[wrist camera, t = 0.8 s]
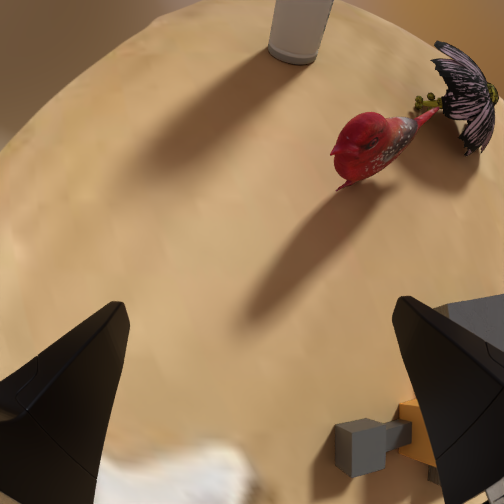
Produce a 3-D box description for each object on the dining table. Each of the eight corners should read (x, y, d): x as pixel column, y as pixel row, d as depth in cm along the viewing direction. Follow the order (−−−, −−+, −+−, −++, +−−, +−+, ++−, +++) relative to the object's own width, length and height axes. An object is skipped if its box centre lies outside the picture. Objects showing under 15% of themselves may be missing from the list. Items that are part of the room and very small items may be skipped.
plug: (439, 437, 18) (482, 445, 13) (335, 470, 17) (367, 497, 12) (439, 390, 19) (485, 391, 14) (334, 418, 18) (370, 433, 13)
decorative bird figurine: (287, 202, 24) (323, 111, 14) (403, 133, 29) (446, 71, 19) (310, 230, 23) (362, 148, 14) (421, 152, 28) (469, 92, 19)
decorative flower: (529, 149, 18) (447, 21, 17) (447, 188, 28) (374, 75, 27) (517, 128, 26) (459, 38, 25) (459, 158, 36) (406, 75, 35)
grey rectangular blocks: (501, 438, 17) (520, 440, 15) (427, 480, 16) (448, 488, 13) (496, 298, 23) (516, 291, 20) (425, 311, 22) (447, 303, 19)
